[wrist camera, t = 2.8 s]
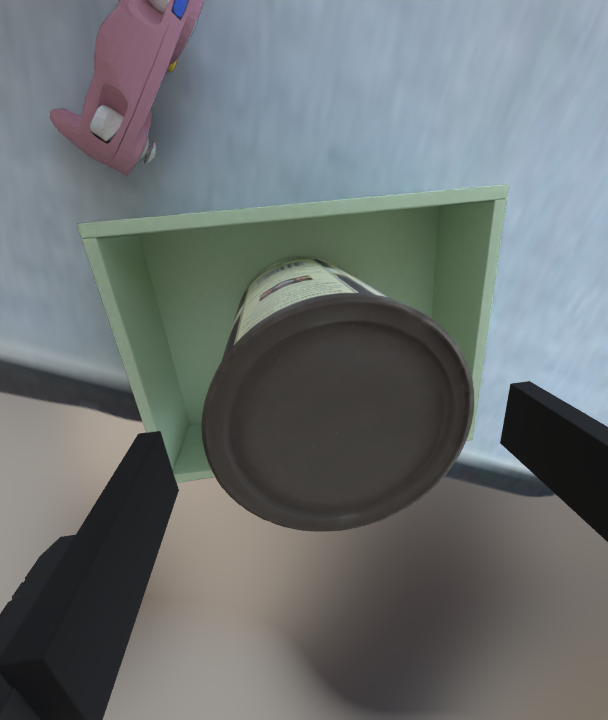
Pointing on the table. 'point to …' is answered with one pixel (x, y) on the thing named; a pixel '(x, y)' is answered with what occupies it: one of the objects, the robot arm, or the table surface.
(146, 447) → the robot arm
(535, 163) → the table surface
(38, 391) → the table surface
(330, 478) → the coffee can
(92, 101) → the video game controller
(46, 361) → the table surface
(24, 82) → the table surface
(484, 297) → the bin
